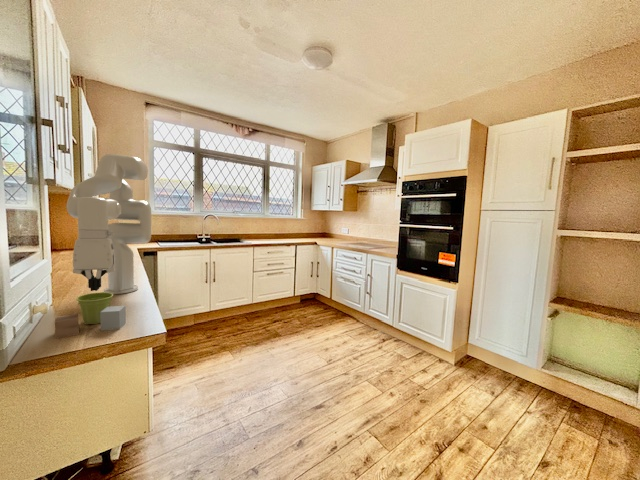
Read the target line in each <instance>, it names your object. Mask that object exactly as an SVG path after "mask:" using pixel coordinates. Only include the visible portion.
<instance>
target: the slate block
mask: <svg viewBox="0 0 640 480" xmlns="http://www.w3.org/2000/svg"><path fill="white" fill-rule="evenodd" d="M126 310H127V309H126V305H117V306H116V305H115V306H113V305H110V306H109V307H106V308H105V309H104V310H102V311H101V312H100V319H101V323H100V331H110V330H111V331H113V330H121V329H122V327H124V326H125V324H126V323H127V319H126V318H127V317H126V316H127V314H126Z"/></svg>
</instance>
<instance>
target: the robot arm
mask: <svg viewBox="0 0 640 480" xmlns="http://www.w3.org/2000/svg"><path fill="white" fill-rule="evenodd" d="M148 171H149V170H148V166H147V164H146V163H145V162H144V161H143V160H142V159H141V158H138V157H136V156H131V155H130V156H129V155H122V154H113V153H111V154H104V155H102V156H101V157H100V159H99V161H98V164H97V167H96V170H95V173H94V176H91V177H88V178H86V179H85V180H83V181H81V182H79V183H77V184H75V185H74V186H73V188H72V189H71V191H70V193H69V195H68V198H67V202H66V211H67V213H68V215H69V216H70V217H72V218H73V219H74V218H75V219H77V235H78V236H77V237H78V238H76V239H75V241H74V246H73V251H72V252H73V253H72V254H73V255H72V268H73V270H72V273H73V274H77V275H82V276H84V277H85V278H86V279H87V280H88V281H87V282H88V283H87V284H88V286H87V287H88V289H90V292H94V291H95V292H96V291H99V289H100V288H101V287H102V277H103V276H104V275H106V274H108V275H107V280H108V281H107V283H108V284H107V285H108V286H107V287H106V288H104V289H103V292H107V293H112V294H113V295H121V294H130V293H132V292H136V291H137V290H138V289H139V286H138V285H135V280H134V279H135V277H134V276H135V275H134V274H135V273H134V272H135V271H134V267H135V266H134V264H135V263H134V262H135V261H134V252H133V250H132V248H131V247H130V246H129V245H128V244H133V245H134V244H147V243H150V241H151V239H152V207H151V205H150V203H149V202H148V201H146V200H140V199H139V200H137V199H136V200H135V199H134V198H133V197H134V196H133V188H132V186H130V184H129V183H128V182H127V181H126V180H133V181H145V180H146V179H147V177H148V174H149V173H148ZM106 194H107V195H108V194H109V198H108V197H106V198H105V197H97V196H101V195H102V196H103V195H106ZM109 220H119V221H121V220H122V221H138V222H137V223H136V222H111V223H109ZM95 270H96V273H95V274H96V275H94V271H95Z"/></svg>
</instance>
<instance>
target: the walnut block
mask: <svg viewBox="0 0 640 480" xmlns="http://www.w3.org/2000/svg"><path fill="white" fill-rule="evenodd" d="M79 323H80V321H79V313H72V314H65V315H60V316H59V315H58V316H55V320H54V334H55V339H60V338H67V337H72V336H77V335H79V334H80V332H79V331H80V327H79Z"/></svg>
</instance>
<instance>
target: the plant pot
mask: <svg viewBox="0 0 640 480" xmlns="http://www.w3.org/2000/svg"><path fill="white" fill-rule="evenodd" d="M113 297H114V294H112V293H107V292H104V291H103V292H91V293H90V292H89V293H87V294H82V295H79V296H77V297H76V298H75V299H76V301H77V302H78V305H79V307H80V312H81V315H82V321H83V324H85V325H98V324H101V319H100V312H101V311H102V310H104V309H105V308H106V307H110V306H111V305H110V304H111V301H112V298H113Z"/></svg>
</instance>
